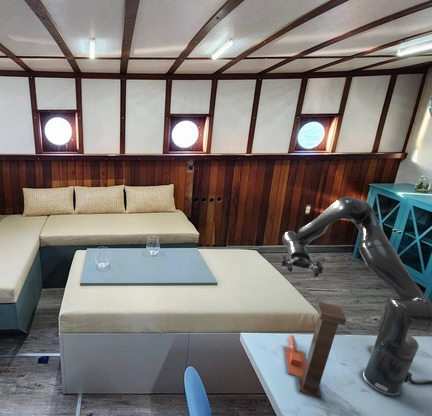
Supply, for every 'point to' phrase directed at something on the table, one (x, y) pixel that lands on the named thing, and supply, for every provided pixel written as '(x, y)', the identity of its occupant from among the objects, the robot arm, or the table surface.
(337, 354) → the table surface
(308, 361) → the wooden square pillar
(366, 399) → the table surface
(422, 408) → the table surface
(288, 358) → the terracotta mat
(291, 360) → the orange toy mallet
